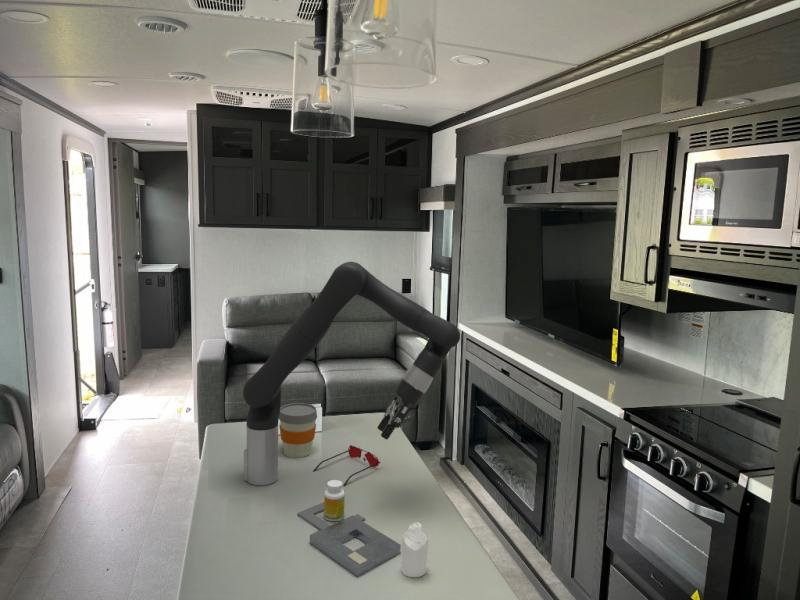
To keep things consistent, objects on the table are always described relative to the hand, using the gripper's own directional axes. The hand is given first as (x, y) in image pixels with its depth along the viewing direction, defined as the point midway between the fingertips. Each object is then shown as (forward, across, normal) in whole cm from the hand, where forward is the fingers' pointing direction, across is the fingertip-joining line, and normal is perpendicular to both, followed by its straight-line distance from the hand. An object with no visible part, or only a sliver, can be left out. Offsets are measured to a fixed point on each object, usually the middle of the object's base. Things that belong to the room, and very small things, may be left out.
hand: (381, 433), depth 167 cm
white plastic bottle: (+19, +27, +18) cm, 38 cm away
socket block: (+25, +17, +6) cm, 31 cm away
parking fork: (+25, +2, +1) cm, 25 cm away
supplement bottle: (+25, +2, +1) cm, 25 cm away
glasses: (+19, -24, +3) cm, 31 cm away
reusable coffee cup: (+26, -38, -11) cm, 48 cm away
